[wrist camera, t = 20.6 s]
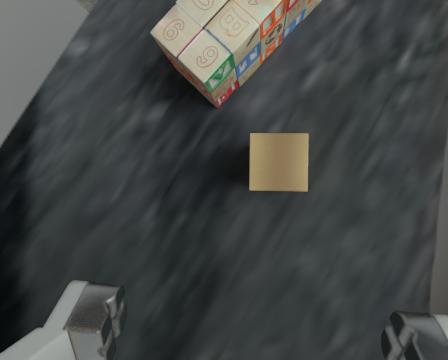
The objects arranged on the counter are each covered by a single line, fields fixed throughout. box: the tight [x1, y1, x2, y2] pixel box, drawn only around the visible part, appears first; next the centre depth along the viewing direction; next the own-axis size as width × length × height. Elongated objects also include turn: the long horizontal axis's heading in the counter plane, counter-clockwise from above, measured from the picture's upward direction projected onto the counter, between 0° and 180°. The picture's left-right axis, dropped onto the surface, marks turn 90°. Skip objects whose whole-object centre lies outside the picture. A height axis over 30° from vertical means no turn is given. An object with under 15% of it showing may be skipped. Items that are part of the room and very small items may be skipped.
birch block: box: [249, 133, 308, 191], centre depth 30 cm, size 4×4×9 cm
